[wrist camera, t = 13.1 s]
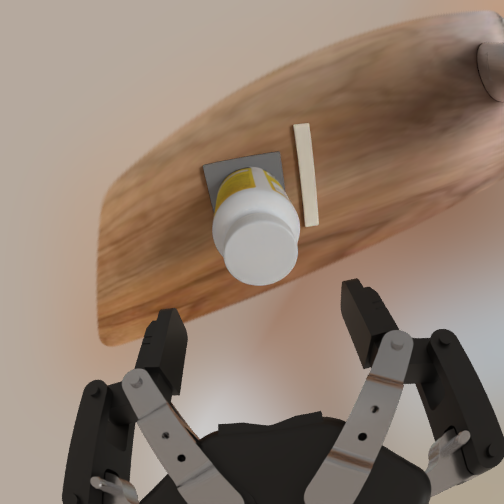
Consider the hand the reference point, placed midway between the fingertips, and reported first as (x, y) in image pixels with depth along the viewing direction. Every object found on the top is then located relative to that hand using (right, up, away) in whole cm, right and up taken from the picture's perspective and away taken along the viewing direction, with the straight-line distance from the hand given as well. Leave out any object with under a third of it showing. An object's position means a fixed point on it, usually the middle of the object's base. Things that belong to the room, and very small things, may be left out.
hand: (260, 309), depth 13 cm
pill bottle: (-1, +8, +14) cm, 17 cm away
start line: (+5, +10, +14) cm, 18 cm away
